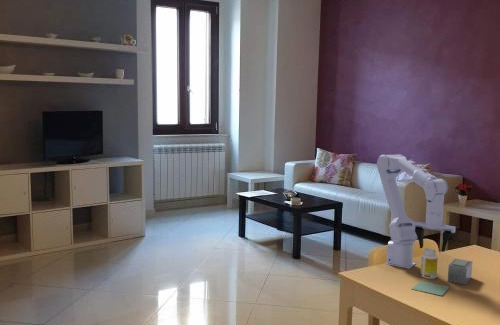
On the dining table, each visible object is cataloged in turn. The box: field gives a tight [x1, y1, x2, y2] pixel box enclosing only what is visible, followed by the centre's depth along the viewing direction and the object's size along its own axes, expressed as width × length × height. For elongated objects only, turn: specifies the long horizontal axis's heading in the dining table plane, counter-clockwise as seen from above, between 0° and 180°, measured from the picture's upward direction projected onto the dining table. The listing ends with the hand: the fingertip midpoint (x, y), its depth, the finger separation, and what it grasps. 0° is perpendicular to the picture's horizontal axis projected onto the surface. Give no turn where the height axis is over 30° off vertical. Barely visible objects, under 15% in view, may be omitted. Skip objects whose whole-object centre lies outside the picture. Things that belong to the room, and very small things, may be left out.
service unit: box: [447, 258, 473, 286], centre depth 182 cm, size 6×10×6 cm, turn 146°
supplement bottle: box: [420, 247, 438, 280], centre depth 184 cm, size 6×6×10 cm
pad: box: [411, 280, 450, 297], centre depth 172 cm, size 10×10×1 cm
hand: (432, 249), depth 183 cm, fingers open, 7 cm apart
